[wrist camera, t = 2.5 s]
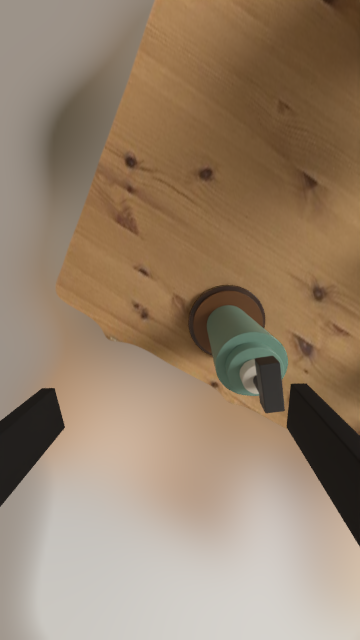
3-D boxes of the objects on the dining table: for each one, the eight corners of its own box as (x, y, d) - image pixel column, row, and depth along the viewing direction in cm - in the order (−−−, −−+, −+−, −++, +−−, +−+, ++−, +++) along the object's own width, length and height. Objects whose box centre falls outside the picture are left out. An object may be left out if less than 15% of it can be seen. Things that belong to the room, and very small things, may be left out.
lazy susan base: (174, 315, 35) (173, 316, 34) (235, 268, 32) (236, 268, 31) (216, 367, 37) (217, 370, 36) (277, 328, 34) (280, 330, 33)
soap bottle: (264, 348, 34) (363, 460, 14) (199, 359, 35) (207, 473, 16) (257, 283, 31) (368, 308, 11) (187, 298, 32) (175, 343, 13)
